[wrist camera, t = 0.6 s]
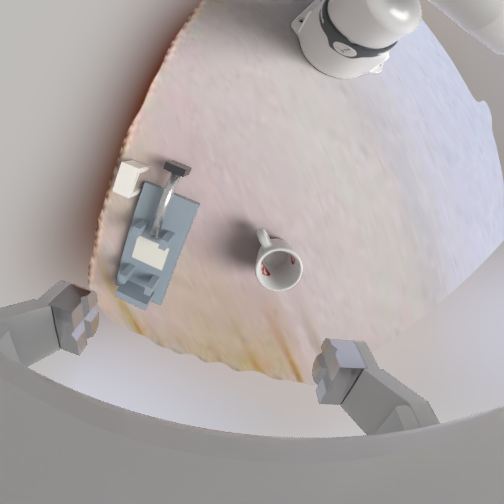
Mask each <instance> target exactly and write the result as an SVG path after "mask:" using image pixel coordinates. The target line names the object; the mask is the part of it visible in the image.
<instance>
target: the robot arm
mask: <svg viewBox="0 0 504 504" xmlns="http://www.w3.org/2000/svg"><path fill="white" fill-rule="evenodd" d="M428 1H429V2H431V3H432V4H433V5H435V6H436V7H437V8H439V9H440V10H441V11H442V12H443V13H445V14H446V15H447V16H448V17H449V18H451V19H452V20H453V21H454V22H455V23H456V24H458V25H459V26H460V27H461V28H462V29H464V30H465V31H466V32H468V33H469V34H470V35H472V36H473V37H475V38H476V39H477V40H479V41H480V42H481V43H483V44H484V45H485V46H487V47H488V48H489V49H490V50H492V51H493V52H495V53H497V54H499V55H503V56H504V0H428ZM421 17H422V9H421V5H420V1H419V0H314V1H313V2H312V3H311V4H310V5H309V6H308V7H307V8H306V9H305V10H304V11H303V12H302V13H300V14H299V15H298V16H297V17H296V18H295V19H294V20H293V21H292V23H291V27H292V29H293V31H294V32H295V33H296V35H297V36H298V38H299V41H300V46H301V49H302V51H303V53H304V55H305V57H306V58H307V60H308V61H309V62H310V63H311V64H312V65H313V66H314V67H315V68H317V69H318V70H320V71H321V72H323V73H325V74H327V75H329V76H332V77H336V78H342V79H350V78H355V77H358V76H361V75H363V74H378V73H380V72H381V71H382V68H383V63H384V61H385V60H387V59H388V58H389V55H388V53H389V50H390V49H391V48H392V47H393V46H394V45H395V44H396V43H397V41H398V40H400V39H401V38H403V37H404V36H406V35H408V34H409V33H411V32H413V31H414V30H415V29H416V28H417V27H418V25H419V24H420V21H421ZM300 21H303V23H301V22H300ZM97 302H98V300H97V293H96V292H95V291H93V290H90V289H87V288H84V287H81V286H78V285H75V284H72V283H69V282H66V281H59V282H57V284H55V285H54V286H53V287H52V288H51V289H49V290H48V291H47V292H46V293H45V294H43V295H42V296H41V297H40V298H39V299H38V300H35V299H32V300H29V301H25V302H21V303H17V304H13V305H9V306H6V307H2V308H0V504H504V406H497V407H494V408H491V409H489V410H486V411H483V412H480V413H477V414H473V415H470V416H467V417H463V418H460V419H456V420H453V421H448V422H445V423H439V421H438V419H437V417H436V415H435V413H434V411H433V409H432V408H431V406H430V404H429V402H428V401H426V400H425V399H424V398H422V397H421V396H419V395H418V394H417V393H415V392H414V391H412V390H411V389H409V388H408V387H407V386H405V385H404V384H402V383H401V382H400V381H398V380H397V379H396V378H394V377H393V376H391V375H390V374H389V373H387V372H386V371H385V370H383V369H379V367H378V365H377V363H376V361H375V359H374V357H373V355H372V353H371V351H370V349H369V347H368V346H367V344H366V342H364V341H355V340H351V341H350V340H339V339H329V338H326V339H325V340H324V341H323V344H322V346H321V349H322V353H321V354H319V355H318V356H317V357H316V359H315V361H314V364H313V369H312V376H313V380H314V382H315V383H316V384H317V385H318V387H317V389H316V393H317V397H318V401H319V404H335V405H341V407H342V408H343V409H344V410H345V411H346V412H347V413H348V415H349V416H350V417H351V418H352V419H353V420H354V421H355V422H356V423H357V425H358V426H359V427H360V428H361V429H362V430H363V431H364V432H365V433H366V434H367V435H365V436H352V437H335V438H334V437H333V438H293V437H291V438H290V437H272V436H258V435H249V434H240V433H232V432H224V431H218V430H211V429H206V428H200V427H195V426H190V425H185V424H180V423H176V422H171V421H167V420H163V419H159V418H155V417H151V416H148V415H144V414H141V413H137V412H134V411H130V410H127V409H124V408H121V407H118V406H115V405H112V404H109V403H106V402H104V401H101V400H98V399H95V398H93V397H90V396H87V395H85V394H83V393H80V392H78V391H75V390H73V389H71V388H68V387H66V386H64V385H62V384H60V383H57V382H55V381H53V380H51V379H49V378H47V377H45V376H42V375H41V374H39V373H37V372H35V371H33V370H31V369H29V368H28V366H30V365H32V364H34V363H35V362H37V361H39V360H41V359H43V358H45V357H47V356H49V355H50V354H52V353H54V352H56V351H58V350H60V348H61V349H63V350H66V351H69V352H71V353H74V354H77V355H80V354H81V352H82V351H83V350H84V348H85V347H86V345H87V338H90V337H93V335H94V334H95V332H96V330H97V327H98V323H99V313H98V311H97V309H96V308H95V305H96V303H97Z"/></svg>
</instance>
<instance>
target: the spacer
mask: <svg viewBox="0 0 504 504" xmlns="http://www.w3.org/2000/svg"><path fill="white" fill-rule="evenodd" d="M148 169H149V166H147V165H145V164H142V163H140V162H137V161H135V160H130V161H123V162H121V165H120V168H119V171H118V174H117V177H116V180H115V183H114V187H113V190H112V191H113V192H115V193H118V194H120V195H122V196H124V197H127V198H131V197H133V196H135V195H137V194H139V193H140V191H141V189H140V188H138V187H135V185H136V182H137V179H138V176H139V174H140V173H142V172H145V171H148Z"/></svg>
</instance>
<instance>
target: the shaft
mask: <svg viewBox="0 0 504 504" xmlns="http://www.w3.org/2000/svg"><path fill="white" fill-rule="evenodd" d="M163 169H165V170H168V171H170V172H171V173H170V176H169V179H168V181H167V184H166V186H165V189H164V192H163V194H162V197H161V200H160V202H159V205H158V208H157V211H156V214H155V217H154V219H153V222H152V225H151V228H150V231H149V234H148V236H149V237H151V238H153V239H157V238H158V235H159V232H160V229H161V227H162V224H163V221H164V218H165V215H166V213H167V210H168V207H169V205H170V202H171V199H172V197H173V194H174V192H175V189H176V187H177V184H178V182H179V179H180V177H181V176H182V177H184V176H186V175H189V173H190V171H191V168H190V167H188V166H185V165H183V164H180V163H178V162H176V161H168V162H166V163H165V166H164V168H163Z"/></svg>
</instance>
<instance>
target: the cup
mask: <svg viewBox="0 0 504 504" xmlns="http://www.w3.org/2000/svg"><path fill="white" fill-rule="evenodd" d="M257 237H258V239H259V241H260V243H261V245H262V246H261V247H260V249H259V251H258V255H257V260H256V264H255V275H256V278H257V280H258V282H259V283H260V284H261V285H262V286H263V287H265V288H266V289H269V290H272V291H284V290H287V289H289V288H291V287H293V286H294V285H295V284H296V283H297V282H298V281H299V279H300V278H301V275H302V271H303V266H302V261H301V259H300V257H299V256H298V254H297V253H296V252H295V250H294V249H293V248H292V246H291V245H290V244H289V243H288V242H286V241H285V240H282V239H270V238H269V236H268V234H267V232H266V231H265V229H264V228H261V229H259V230H257Z"/></svg>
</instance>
